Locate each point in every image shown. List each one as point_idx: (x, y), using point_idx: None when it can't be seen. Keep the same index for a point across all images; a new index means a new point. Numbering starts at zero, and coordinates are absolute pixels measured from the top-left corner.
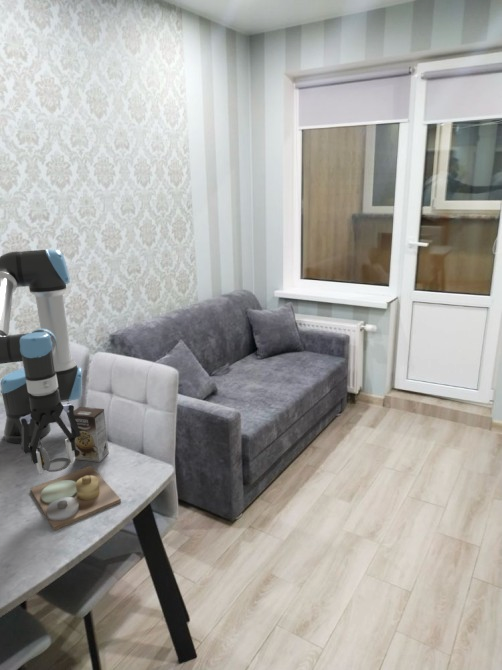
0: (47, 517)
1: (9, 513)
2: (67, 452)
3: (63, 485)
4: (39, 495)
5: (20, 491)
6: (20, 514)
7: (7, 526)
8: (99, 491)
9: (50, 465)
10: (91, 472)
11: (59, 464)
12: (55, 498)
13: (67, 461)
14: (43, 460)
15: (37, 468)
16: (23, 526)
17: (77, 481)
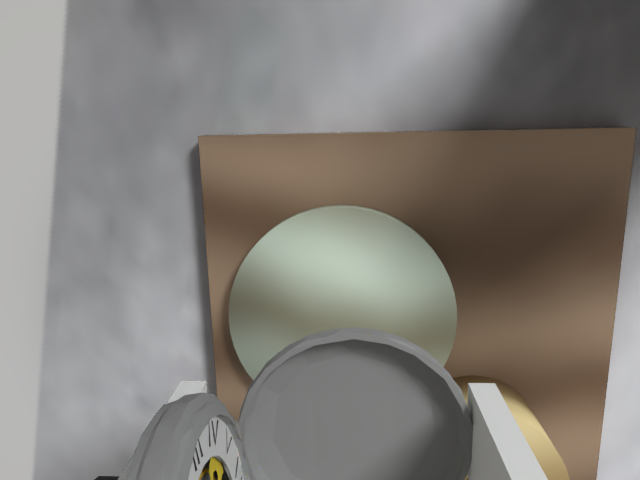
0: None
1: (66, 283)
2: (491, 458)
3: (376, 285)
4: (230, 259)
5: (148, 93)
6: (116, 330)
7: (48, 385)
8: None
9: (298, 382)
10: (592, 222)
11: (372, 414)
12: None
13: (449, 424)
14: (221, 456)
15: None
16: (116, 433)
17: None
